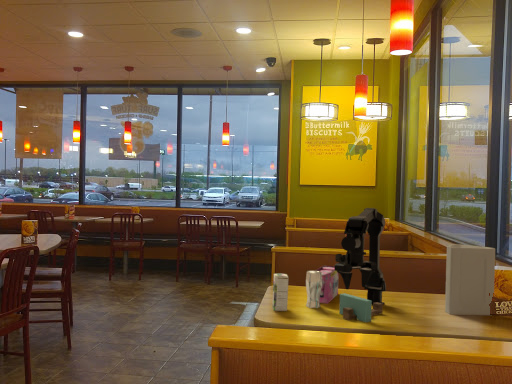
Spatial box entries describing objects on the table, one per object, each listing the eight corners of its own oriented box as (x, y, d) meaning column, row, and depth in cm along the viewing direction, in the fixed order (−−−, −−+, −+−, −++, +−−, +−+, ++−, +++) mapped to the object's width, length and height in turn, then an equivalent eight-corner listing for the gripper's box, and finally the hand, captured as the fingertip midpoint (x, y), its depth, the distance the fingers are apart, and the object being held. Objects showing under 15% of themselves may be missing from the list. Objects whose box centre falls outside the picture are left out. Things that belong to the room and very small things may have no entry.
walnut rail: (376, 311, 187) (376, 302, 187) (382, 313, 185) (382, 303, 185) (342, 318, 176) (343, 307, 176) (348, 320, 173) (348, 309, 173)
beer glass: (320, 309, 189) (321, 273, 189) (304, 307, 190) (305, 272, 190) (321, 305, 196) (322, 271, 196) (305, 303, 197) (306, 269, 197)
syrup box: (271, 307, 189) (272, 273, 189) (285, 307, 189) (286, 273, 190) (273, 311, 183) (274, 275, 183) (287, 311, 184) (288, 276, 184)
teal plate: (339, 313, 182) (339, 294, 182) (344, 312, 184) (345, 293, 184) (365, 322, 171) (366, 301, 171) (371, 321, 173) (371, 300, 173)
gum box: (327, 304, 198) (328, 273, 198) (310, 302, 200) (311, 272, 201) (338, 294, 220) (339, 266, 220) (322, 292, 223) (323, 265, 223)
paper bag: (475, 306, 203) (477, 244, 203) (494, 315, 188) (496, 248, 188) (434, 305, 202) (435, 243, 202) (449, 314, 187) (451, 247, 187)
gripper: (357, 245, 190) (356, 282, 189) (325, 247, 179) (324, 286, 179) (378, 248, 180) (377, 287, 180) (345, 250, 170) (344, 291, 170)
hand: (355, 288), depth 177 cm, fingers open, 9 cm apart
